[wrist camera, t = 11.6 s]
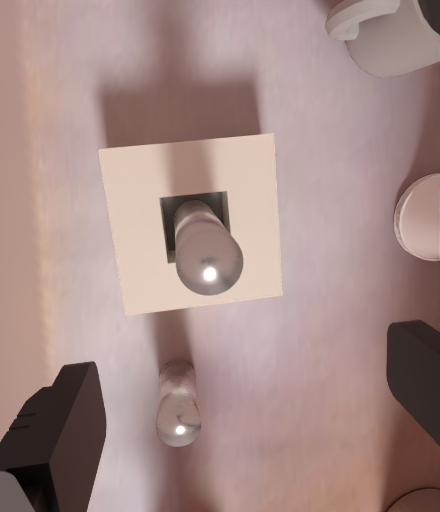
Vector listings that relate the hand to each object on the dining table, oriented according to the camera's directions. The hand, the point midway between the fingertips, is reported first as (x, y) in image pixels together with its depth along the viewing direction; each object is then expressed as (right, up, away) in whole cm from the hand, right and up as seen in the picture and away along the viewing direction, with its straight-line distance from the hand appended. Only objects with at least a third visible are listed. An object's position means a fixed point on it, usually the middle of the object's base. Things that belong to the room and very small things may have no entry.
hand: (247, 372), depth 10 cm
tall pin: (-3, +6, +21) cm, 22 cm away
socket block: (-3, +6, +21) cm, 22 cm away
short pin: (-5, -8, +24) cm, 26 cm away
